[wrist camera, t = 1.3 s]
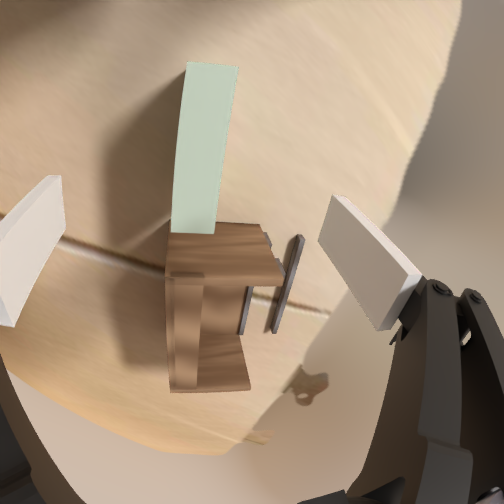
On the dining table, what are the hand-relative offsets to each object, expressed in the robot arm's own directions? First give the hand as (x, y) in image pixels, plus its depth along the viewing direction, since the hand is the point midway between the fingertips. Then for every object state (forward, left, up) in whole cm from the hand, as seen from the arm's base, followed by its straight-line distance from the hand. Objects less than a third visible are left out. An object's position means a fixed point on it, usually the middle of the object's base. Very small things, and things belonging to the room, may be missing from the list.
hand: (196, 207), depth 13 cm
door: (-1, 0, -17) cm, 17 cm away
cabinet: (+18, +6, -17) cm, 25 cm away
